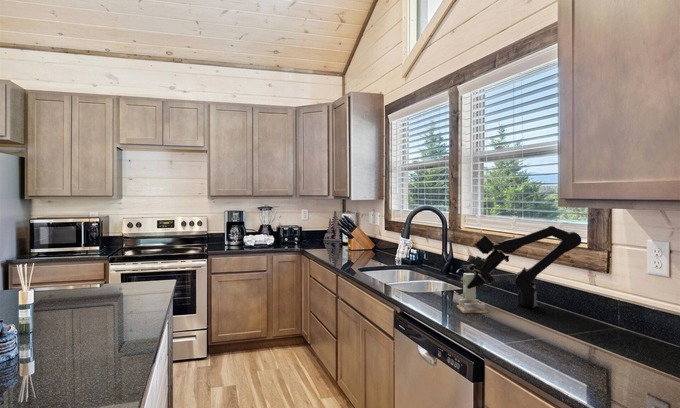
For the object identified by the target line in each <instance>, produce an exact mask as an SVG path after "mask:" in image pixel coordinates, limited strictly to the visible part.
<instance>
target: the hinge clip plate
mask: <svg viewBox="0 0 680 408" xmlns="http://www.w3.org/2000/svg"><path fill="white" fill-rule="evenodd" d="M456 308H457V309H458V310H459V311H460V312H461V313H463V314H475V313H476V314H479V313H480V314H485V313H487V314H488V312H489V310H488V309H486V303H480V299H478V298H476V299H463V298H462V299H458V304H456Z"/></svg>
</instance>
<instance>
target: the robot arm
mask: <svg viewBox="0 0 680 408" xmlns="http://www.w3.org/2000/svg"><path fill="white" fill-rule="evenodd" d="M577 233H578V232H575V231H570V232H569V231H567V230H563V229H561V228H558V227H555V226H554V225H548V226H547V227H545V228H543V229H540V230H537V231H533V232H531V233H528V234H524V235H523V236H519V237H512V238H506V239H505V240H503V241H501V242H495V243H494V242H493V241H492V240H491V238H489V237H488V236H487V235H486V234H485V235H484V236H483V237H482V238H481V239H479V240H478V241H477V242H476V243H474V246H473V247H475V249H477V250H478V251H479V252H480V253H481V254H483V255H488V256H487V257H486V258H482V257H481V256H478V255H476V256H473V255H471V254H470V255H469V256H468V258H467V260H466V262H468V263H469V265H468V266H467V268H468V271H469V273H474V274H475V275H474V278H473V280H472V281H471V282H470V283H469V285H468V286H467V288H468V289H470V288H473V287H476V288H477V287H479V286H481V285H482V286H483V285H485V284H489V285H492V284H493V283H494V280H495V279H494V277H493V275H491V273H492V272H493V271H494V272H495V271H497V267H498V266H499V265H500V264H501V263H502V262H503V261H505V263H508V262H510V258H509V257H510V255H509V254H512V253H514V252H515V251H518V250H519V249H521V248H522V247H524V246H527V245H529V244H532V243H535V242H538V241H541V240H544V239H547V238H549V237H553V238H556V239H558V240H560V242H559V243H558V244H557V245H556V246H555V247H553V249H551V250H550V251H549V252H547V254H545V255H544V256H543V257H542V258H541V259H539V260H538V261H537V262H536V263H535V264H534V265H533V266H531V267H530V268H526V267H525V266H524V267H523V268H522V269H521V271H519V272H517V273H516V277H515V279H514V280H515V281H514V282H515V283H514V284H515V285H516V287H518V288H519V290H518V293H517V305H516V306H517V307H524V308H530V309H533V308H535V307H538V306H539V304H537V291H536V284H535V283H534V281H535V279H536V278H537V276H538V275H540V273H542V272H543V271H544V270H546V269H547V268H548V267H550V265H551V264H553V263H554V262H556V260H558V259H559V258H560V257H561V256H563V255H564V254H565V253H567V252H569V251H572V250H574V249H575V248H577V247H579V246H580V245H581V244H582V237H581V235H580V234H579V233H578V234H577ZM491 251H492V252H491ZM507 254H508V255H507Z"/></svg>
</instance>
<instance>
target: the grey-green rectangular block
mask: <svg viewBox="0 0 680 408" xmlns="http://www.w3.org/2000/svg"><path fill="white" fill-rule="evenodd" d="M474 275H475V274H474V273H470V272H463V275H462V276H463V278H462V287H463V288H462V289H463V290H462V299H477V292H476V291H477V286H476V287H473V288H470V289H468V288H467V286H468V285H469V283H470V282H471V281H472V280H473V278H474Z"/></svg>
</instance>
